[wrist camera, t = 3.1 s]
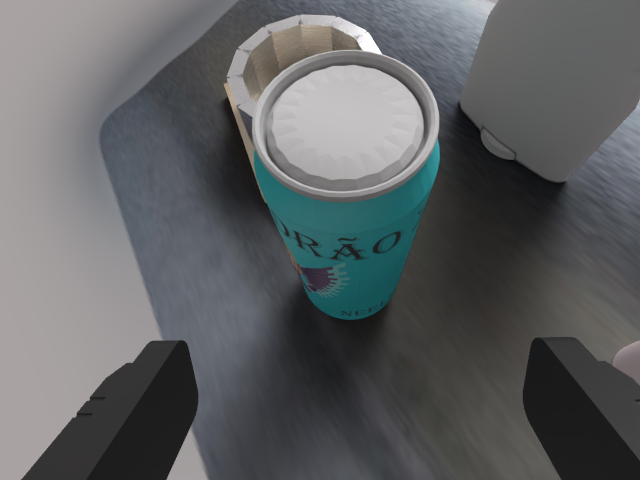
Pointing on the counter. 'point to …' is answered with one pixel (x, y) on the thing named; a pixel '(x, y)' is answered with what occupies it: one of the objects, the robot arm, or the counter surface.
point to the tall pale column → (554, 80)
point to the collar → (287, 54)
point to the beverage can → (347, 172)
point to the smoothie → (629, 361)
